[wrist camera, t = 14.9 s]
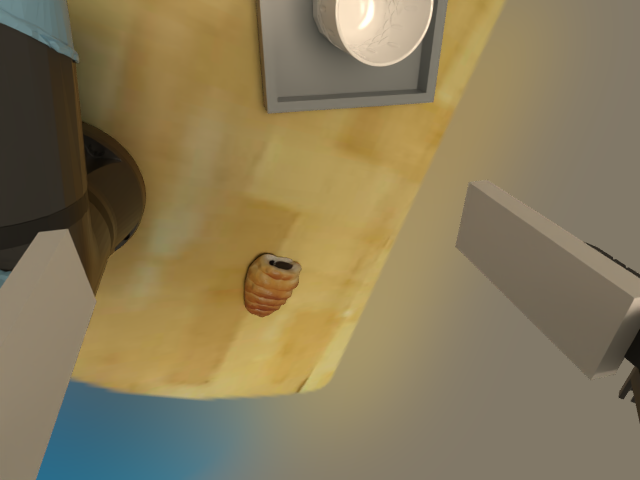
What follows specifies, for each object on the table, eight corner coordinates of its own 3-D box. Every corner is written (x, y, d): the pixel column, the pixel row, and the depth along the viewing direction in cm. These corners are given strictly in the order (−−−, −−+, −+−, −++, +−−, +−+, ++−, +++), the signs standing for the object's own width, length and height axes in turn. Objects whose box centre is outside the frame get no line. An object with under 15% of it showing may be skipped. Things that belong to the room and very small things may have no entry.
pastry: (277, 311, 57) (282, 330, 54) (232, 304, 54) (233, 322, 51) (302, 258, 53) (308, 275, 50) (254, 247, 51) (257, 264, 48)
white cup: (327, -63, 35) (366, -80, 27) (398, -17, 38) (452, -19, 30) (292, 29, 38) (318, 39, 30) (361, 65, 41) (401, 82, 33)
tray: (263, 106, 42) (267, 113, 39) (246, -121, 32) (250, -131, 30) (420, 96, 46) (433, 102, 43) (446, -111, 36) (464, -118, 34)
